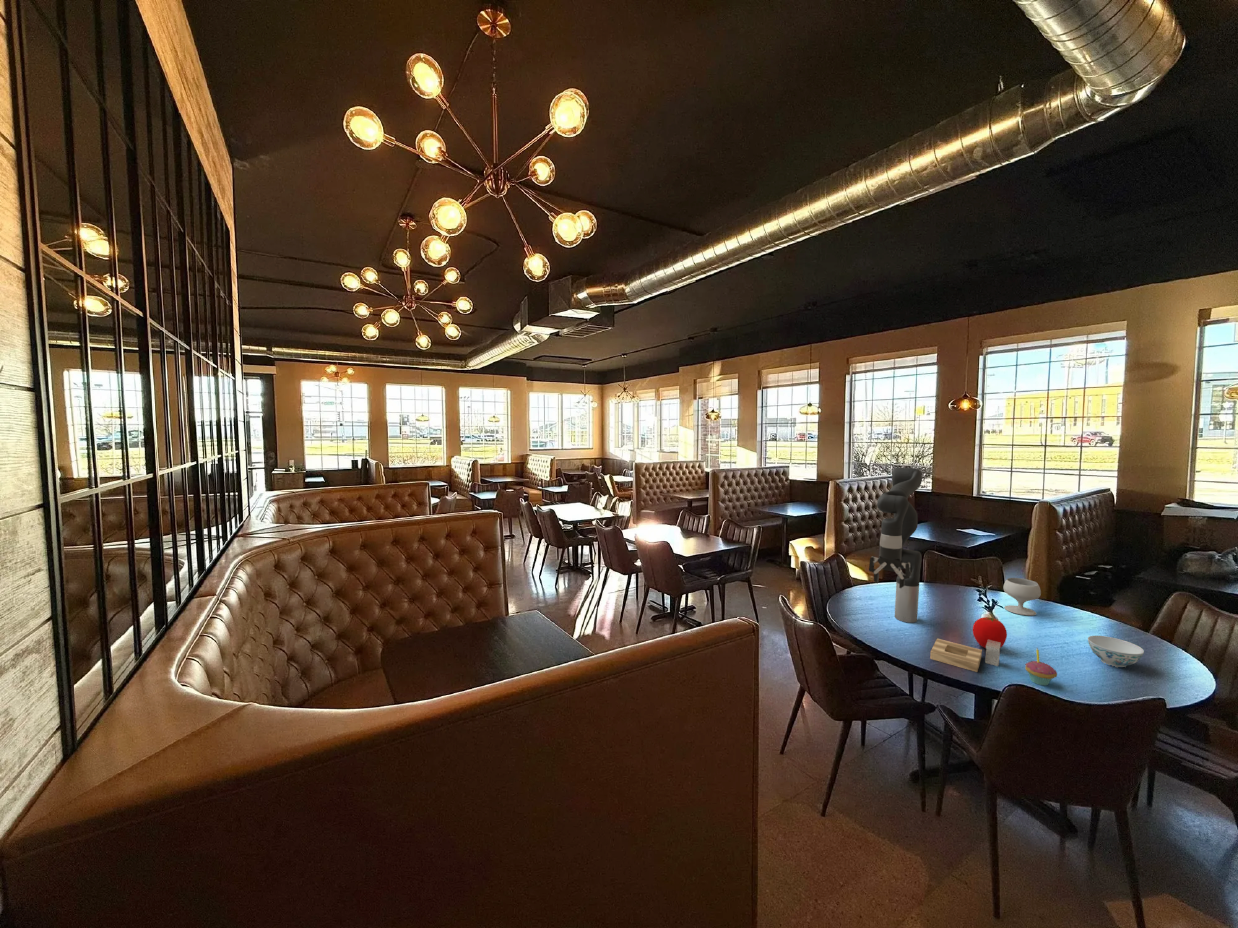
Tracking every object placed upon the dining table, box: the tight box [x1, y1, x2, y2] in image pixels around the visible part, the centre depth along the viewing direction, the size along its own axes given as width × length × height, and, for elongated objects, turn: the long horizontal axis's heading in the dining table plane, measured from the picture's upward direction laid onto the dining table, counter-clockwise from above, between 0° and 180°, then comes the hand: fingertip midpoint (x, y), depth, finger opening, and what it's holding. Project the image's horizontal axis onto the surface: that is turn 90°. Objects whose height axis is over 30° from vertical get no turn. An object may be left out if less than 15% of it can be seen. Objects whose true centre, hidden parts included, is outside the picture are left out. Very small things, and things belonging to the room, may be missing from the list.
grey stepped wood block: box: [984, 640, 1001, 667], centre depth 185 cm, size 7×4×8 cm, turn 138°
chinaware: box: [1087, 635, 1145, 668], centre depth 184 cm, size 15×15×8 cm
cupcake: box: [1024, 647, 1058, 686], centre depth 171 cm, size 9×8×12 cm
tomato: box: [972, 616, 1008, 649], centre depth 196 cm, size 11×11×13 cm
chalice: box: [1002, 577, 1042, 617], centre depth 233 cm, size 14×14×15 cm
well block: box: [929, 638, 983, 673], centre depth 189 cm, size 15×15×3 cm
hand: (888, 585), depth 189 cm, fingers open, 8 cm apart
